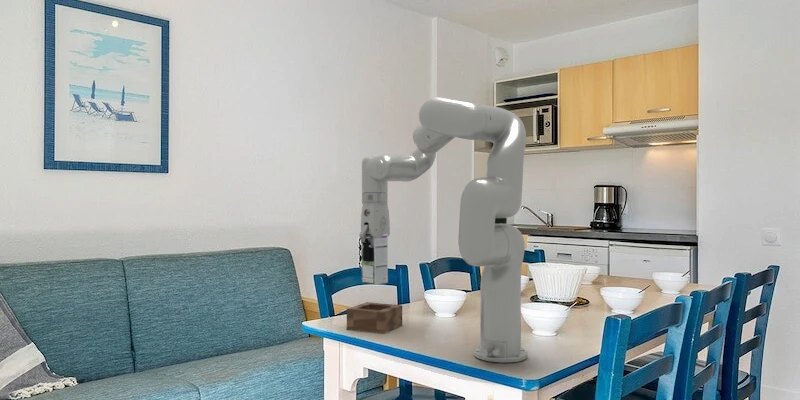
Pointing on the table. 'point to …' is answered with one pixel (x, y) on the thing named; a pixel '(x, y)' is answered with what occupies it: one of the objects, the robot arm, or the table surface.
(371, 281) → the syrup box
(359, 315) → the socket block
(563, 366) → the table surface
